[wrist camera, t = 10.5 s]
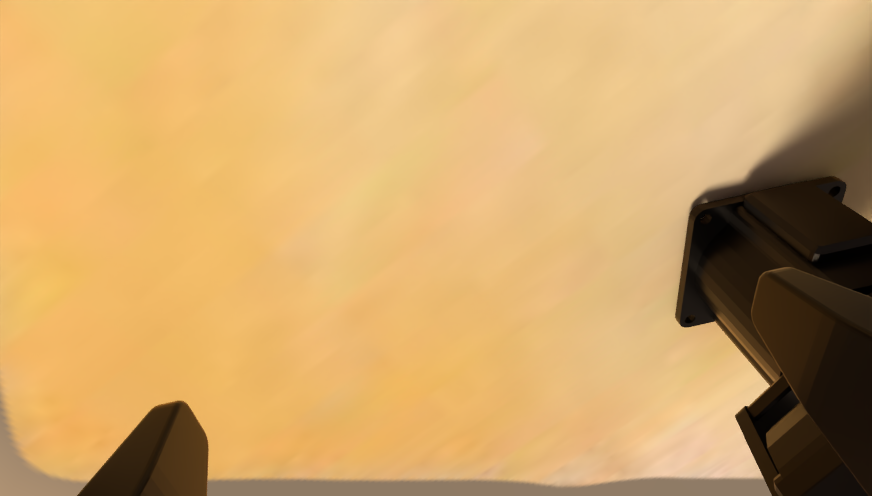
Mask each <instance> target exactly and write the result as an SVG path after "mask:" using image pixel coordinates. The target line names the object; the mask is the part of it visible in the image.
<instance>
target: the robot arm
mask: <svg viewBox="0 0 872 496" xmlns="http://www.w3.org/2000/svg"><path fill="white" fill-rule="evenodd" d="M845 191H846V183H845V182H844V181H842V180H840V179H839V178H837V177H835V176H830V177H826V178H821V179H816V180H811V181H804V182H799V183H795V184H790V185H785V186H780V187H776V188H771V189H766V190H762V191H757V192H752V193H750V194H746V195H741V196H737V197H732V198H727V199H723V200H718V201H713V202H709V203H704V204H700V205H698V206H696V207H695V208H694V209H693V210H692V211H691V212H690V215H689V220H688V227H687V234H686V241H685V249H684V256H683V263H682V271H681V278H680V285H679V292H678V300H677V307H676V314H675V318H676V320H677V321H678V322H679V324H680V325H681V326H682V327H692V326H696V325H701V324H705V323H710V322H714V321H715V322H716V323H717V324H718V325H719V327H720V328H721V329H722V330H723V331H724V332H725V334H726V335H727V336H728V337H729V338H730V339H731V341H732V342H733V343H734V344H735V345H736V346H737V348H738V349H739V350H740V351H741V352H742V353H743V355H744V356H745V357H746V358H747V359H748V361H749V362H750V363H751V364H752V365H753V366H754V368H755V369H756V370H757V371H758V372H759V373H760V375H761V376H762V377H763V378H764V379H765V380H766V382H767V383H768V384H769V385H770V387H769V388H768V389H767V390H766V391H764V392H763V393H762V394H761V395H760V396H759V397H758V398H757V399H756V400H755V401H754V402H753V403H752V404H751V405H750V406H745V407H744V408H742V409H741V410H740V411H739V412H738V413H737V414H736V415H735V417H736V420H737V422H738V424H739V426H740V428H741V430H742V432H743V435H744V437H745V439H746V442H747V444H748V446H749V448H750V450H751V452H752V454H753V456H754V458H755V461H756V463H757V465H758V467H759V469H760V471H761V473H762V475H763V477H764V479H765V482H766V484H767V486H768V488H769V490H770V492H771V494H772V496H872V222H870V221H868V220H867V219H865V218H864V217H862V216H861V215H859V214H858V213H856V212H855V211H853V210H852V209H850V208H849V207H847V206H846V205H844V204H842V200H843V197H844V194H845ZM705 214H706V216H705V217H704V218H702V219H701V217H702V216H703V215H705ZM207 476H208V440H207V437H206V434H205V432H204V430H203V428H202V427H201V425H200V423H199V422H198V420H197V419H196V417H195V415H194V414H193V412H192V410H191V409H190V407H189V406H188V404H187V403H185V402H184V401H175V402H170V403H166V404H161V405H158V406H155V407H154V408H153V409H151V410H150V411H149V413H148V414H147V415H146V416H145V417H144V418H143V420H142V421H141V422H140V423H139V424H138V425H137V427H136V428H135V429H134V430H133V431H132V432H131V434H130V435H129V436H128V437H127V438H126V439H125V440H124V442H123V443H122V444H121V445H120V446H119V447H118V449H117V450H116V451H115V452H114V453H113V454H112V456H111V457H110V458H109V459H108V460H107V461H106V463H105V464H104V465H103V466H102V467H101V468H100V470H99V471H98V472H97V473H96V474H95V475H94V476H93V478H92V479H91V480H90V481H89V482H88V483H87V485H86V486H85V487H84V488H83V489H82V490H81V492H80V493H79V494H78V495H77V496H207Z"/></svg>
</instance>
